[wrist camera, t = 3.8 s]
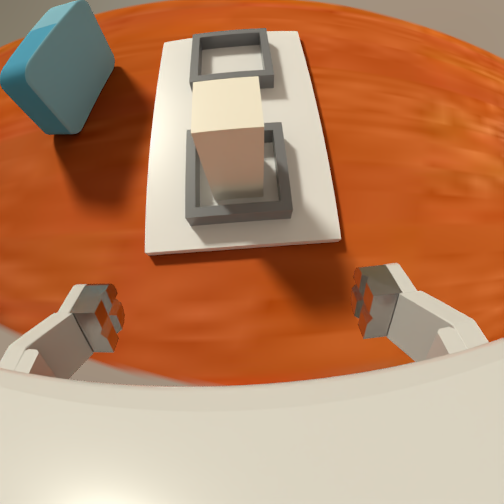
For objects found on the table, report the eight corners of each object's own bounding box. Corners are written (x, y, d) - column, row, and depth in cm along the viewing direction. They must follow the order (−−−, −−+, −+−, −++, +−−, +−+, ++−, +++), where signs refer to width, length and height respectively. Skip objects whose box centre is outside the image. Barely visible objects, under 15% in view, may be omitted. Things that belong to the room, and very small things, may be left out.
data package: (90, 65, 32) (54, 2, 21) (118, 62, 32) (84, -7, 20) (50, 139, 30) (-7, 80, 18) (78, 139, 29) (21, 73, 18)
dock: (148, 255, 26) (136, 247, 23) (166, 48, 32) (160, 31, 29) (338, 241, 26) (347, 231, 23) (296, 37, 32) (298, 19, 29)
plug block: (214, 200, 26) (190, 133, 16) (213, 158, 27) (193, 82, 17) (263, 196, 26) (264, 126, 16) (259, 155, 27) (258, 76, 17)
